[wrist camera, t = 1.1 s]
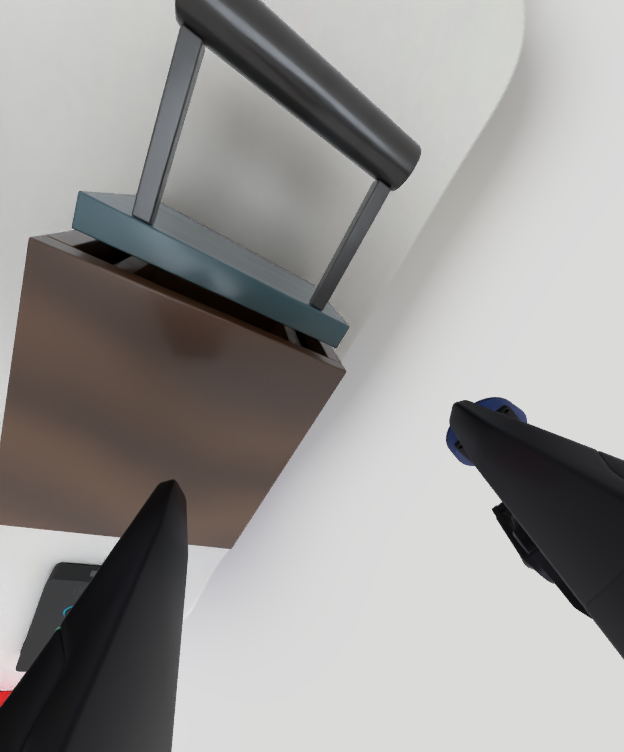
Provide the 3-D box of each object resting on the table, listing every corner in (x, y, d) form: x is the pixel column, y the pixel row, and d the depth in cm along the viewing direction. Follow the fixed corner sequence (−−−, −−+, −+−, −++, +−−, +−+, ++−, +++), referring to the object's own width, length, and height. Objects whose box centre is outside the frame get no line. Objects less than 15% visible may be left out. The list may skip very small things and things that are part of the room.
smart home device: (139, 586, 31) (92, 670, 38) (144, 569, 33) (98, 652, 39) (44, 580, 28) (11, 673, 35) (54, 561, 29) (21, 654, 36)
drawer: (190, 40, 13) (133, -136, 6) (370, 180, 17) (453, 165, 10) (96, 382, 20) (20, 474, 13) (241, 423, 24) (240, 509, 17)
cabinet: (132, 220, 17) (27, 236, 9) (307, 307, 21) (347, 371, 13) (83, 403, 22) (-13, 524, 13) (235, 442, 26) (231, 549, 18)
